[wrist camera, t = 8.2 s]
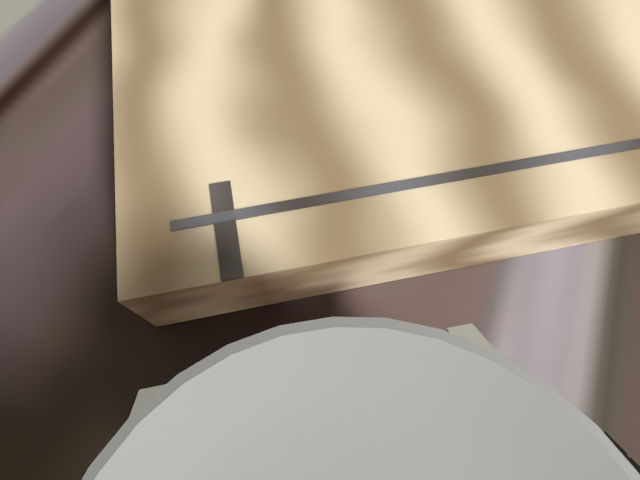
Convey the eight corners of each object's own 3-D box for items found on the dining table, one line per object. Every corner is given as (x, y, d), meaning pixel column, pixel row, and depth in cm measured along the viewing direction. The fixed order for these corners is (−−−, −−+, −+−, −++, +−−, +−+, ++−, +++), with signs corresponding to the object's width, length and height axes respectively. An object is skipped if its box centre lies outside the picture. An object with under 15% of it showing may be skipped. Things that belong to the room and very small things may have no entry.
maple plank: (156, 326, 19) (116, 300, 15) (137, 3, 27) (108, -67, 23) (745, 212, 21) (836, 165, 18) (571, -56, 29) (608, -128, 25)
